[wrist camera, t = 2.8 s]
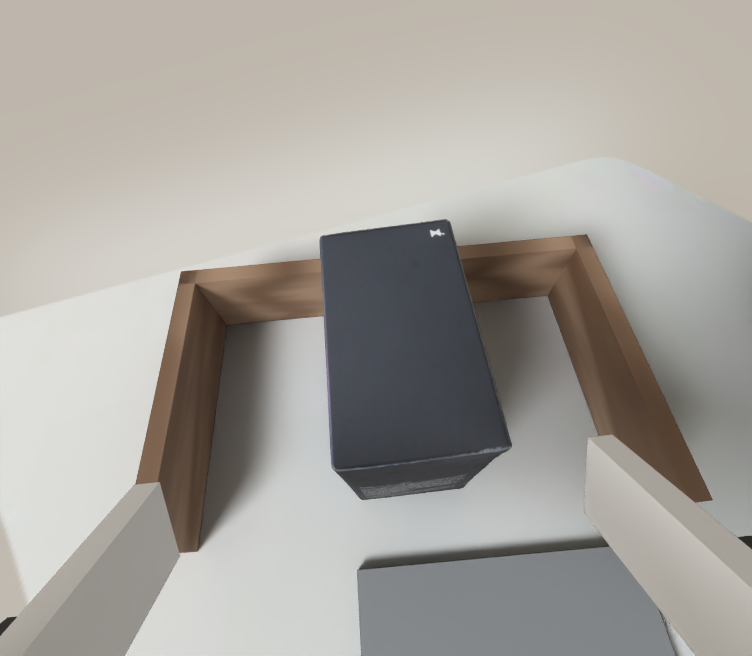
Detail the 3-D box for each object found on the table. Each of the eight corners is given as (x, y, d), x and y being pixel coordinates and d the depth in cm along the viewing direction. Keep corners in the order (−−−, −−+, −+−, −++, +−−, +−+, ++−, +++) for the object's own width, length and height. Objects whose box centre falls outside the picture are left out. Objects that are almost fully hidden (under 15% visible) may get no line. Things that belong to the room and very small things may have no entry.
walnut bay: (557, 282, 28) (587, 234, 24) (645, 509, 20) (712, 500, 16) (214, 314, 28) (181, 271, 23) (178, 553, 20) (120, 555, 16)
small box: (340, 337, 27) (312, 228, 17) (433, 326, 27) (454, 212, 18) (353, 503, 21) (322, 473, 12) (469, 489, 21) (524, 448, 12)
